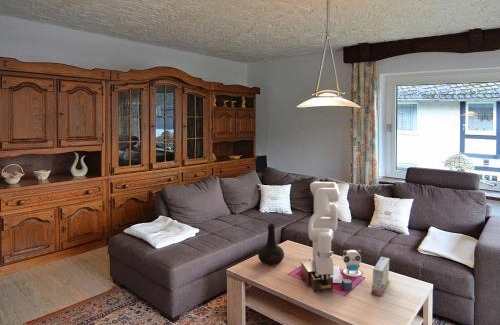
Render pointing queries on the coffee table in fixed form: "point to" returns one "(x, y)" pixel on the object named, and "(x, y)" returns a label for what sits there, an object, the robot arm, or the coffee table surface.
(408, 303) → the coffee table surface
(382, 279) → the snack box
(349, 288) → the block
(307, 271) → the cabinet
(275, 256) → the black vase
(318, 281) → the drawer
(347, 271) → the panda figurine
